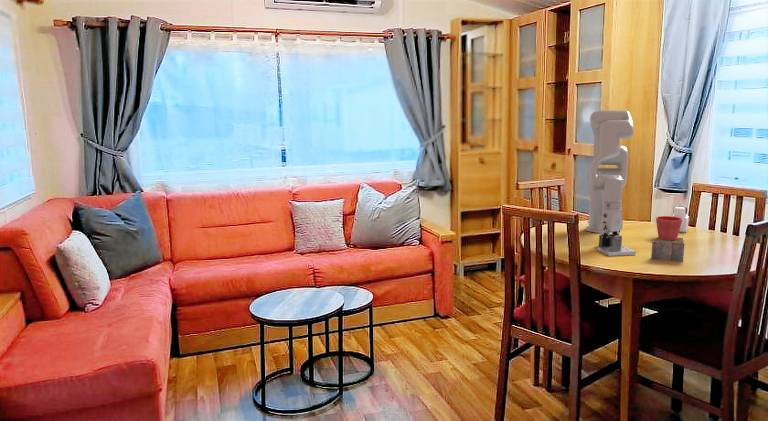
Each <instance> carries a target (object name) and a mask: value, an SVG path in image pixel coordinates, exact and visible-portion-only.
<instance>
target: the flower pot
mask: <svg viewBox="0 0 768 421" xmlns="http://www.w3.org/2000/svg"><path fill="white" fill-rule="evenodd" d="M672 216H673V215H671V216H668V215H663V216H662V215H661V216H660V215H659V216H657V217H655V220H656V221H655V222H656V229H657V236H658V239H660V240H663V241H677V237H678V236H679V233H680V232H679V230H680V226H681V223H682V219H681V218H678V217H672ZM678 238H679V237H678Z"/></svg>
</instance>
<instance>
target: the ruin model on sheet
mask: <svg viewBox="0 0 768 421" xmlns="http://www.w3.org/2000/svg"><path fill="white" fill-rule="evenodd" d="M651 241H652V242H651V253H650V254H651V256H650V258H651V260H657V261H672V262H684V254H685V244H686V243H685V242H684V241H685V240H684V237H683V236H682V237H677V239H676V240H675V241H672V240H658V241H654V240H651Z"/></svg>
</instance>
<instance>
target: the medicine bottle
mask: <svg viewBox="0 0 768 421" xmlns="http://www.w3.org/2000/svg"><path fill="white" fill-rule="evenodd" d="M671 216H672V217H678V218H681V219H682V223H681V226H680V230H679V233H686V232H687V231H688V230H689V222H690V221H689V219H690V216H689V215H688V207H686V206H680V205H676V206H673V213H672V215H671Z"/></svg>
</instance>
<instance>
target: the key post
mask: <svg viewBox="0 0 768 421" xmlns="http://www.w3.org/2000/svg"><path fill="white" fill-rule="evenodd" d="M596 251H597V252H600V253H602V254H604V255H605V256H606V257H607V256H608V257H616V256H617V257H619V256H621V257H622V256H636V255H637V251H636V250H634V249H631V248H630V247H627V246H624V245H622V244H621V241H620V239H618V238H614V239H613V242H612V246H611V247H601V246H597V249H596Z"/></svg>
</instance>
